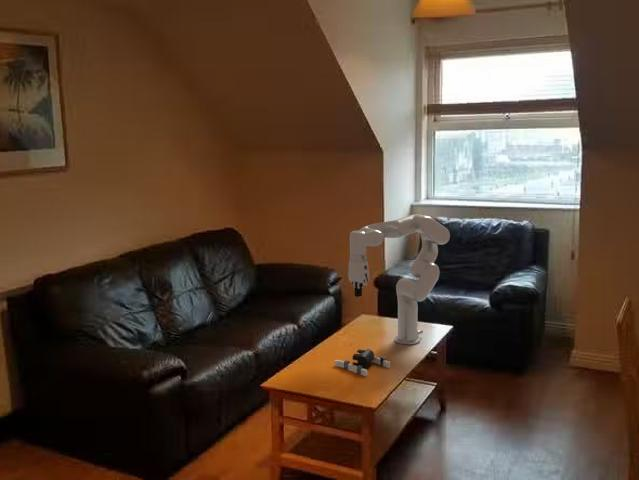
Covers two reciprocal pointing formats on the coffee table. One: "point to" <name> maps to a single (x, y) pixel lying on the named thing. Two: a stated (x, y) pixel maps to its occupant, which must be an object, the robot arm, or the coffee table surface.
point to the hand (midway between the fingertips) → (358, 296)
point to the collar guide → (359, 368)
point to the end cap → (363, 358)
